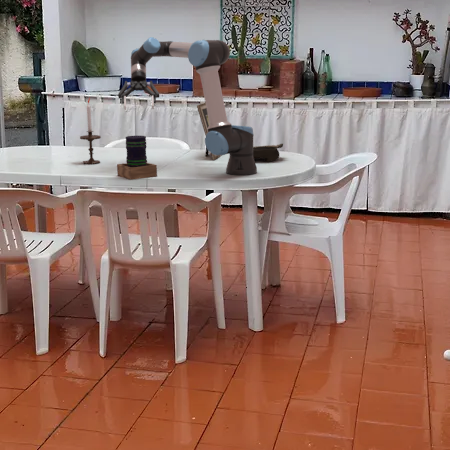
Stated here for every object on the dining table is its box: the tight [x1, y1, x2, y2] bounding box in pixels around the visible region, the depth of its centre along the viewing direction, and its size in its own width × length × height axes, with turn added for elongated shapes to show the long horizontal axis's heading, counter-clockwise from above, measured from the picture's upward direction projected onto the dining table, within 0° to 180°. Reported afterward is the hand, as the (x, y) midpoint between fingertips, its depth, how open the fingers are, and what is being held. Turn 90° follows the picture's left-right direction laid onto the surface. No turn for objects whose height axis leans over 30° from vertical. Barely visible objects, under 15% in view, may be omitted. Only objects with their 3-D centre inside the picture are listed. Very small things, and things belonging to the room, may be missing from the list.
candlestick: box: [79, 97, 102, 165], centre depth 398 cm, size 11×11×35 cm
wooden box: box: [116, 162, 158, 181], centre depth 361 cm, size 14×14×6 cm
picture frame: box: [196, 102, 222, 161], centre depth 419 cm, size 33×10×30 cm, turn 168°
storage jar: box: [125, 135, 148, 167], centre depth 359 cm, size 10×10×15 cm
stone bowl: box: [253, 143, 284, 163], centre depth 406 cm, size 25×25×9 cm
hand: (139, 107), depth 366 cm, fingers open, 13 cm apart
